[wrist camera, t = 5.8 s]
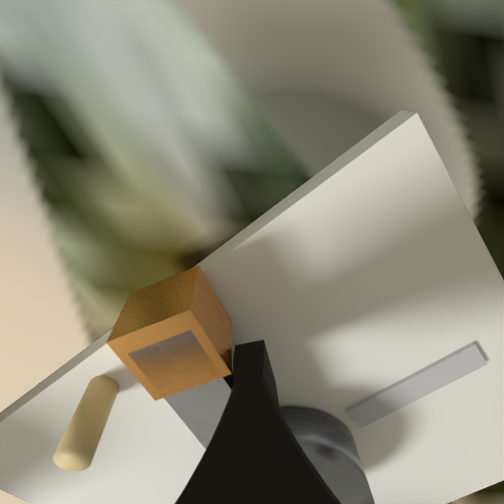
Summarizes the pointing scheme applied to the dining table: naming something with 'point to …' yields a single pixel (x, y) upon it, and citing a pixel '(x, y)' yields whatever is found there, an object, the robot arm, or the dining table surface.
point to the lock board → (312, 344)
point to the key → (217, 374)
